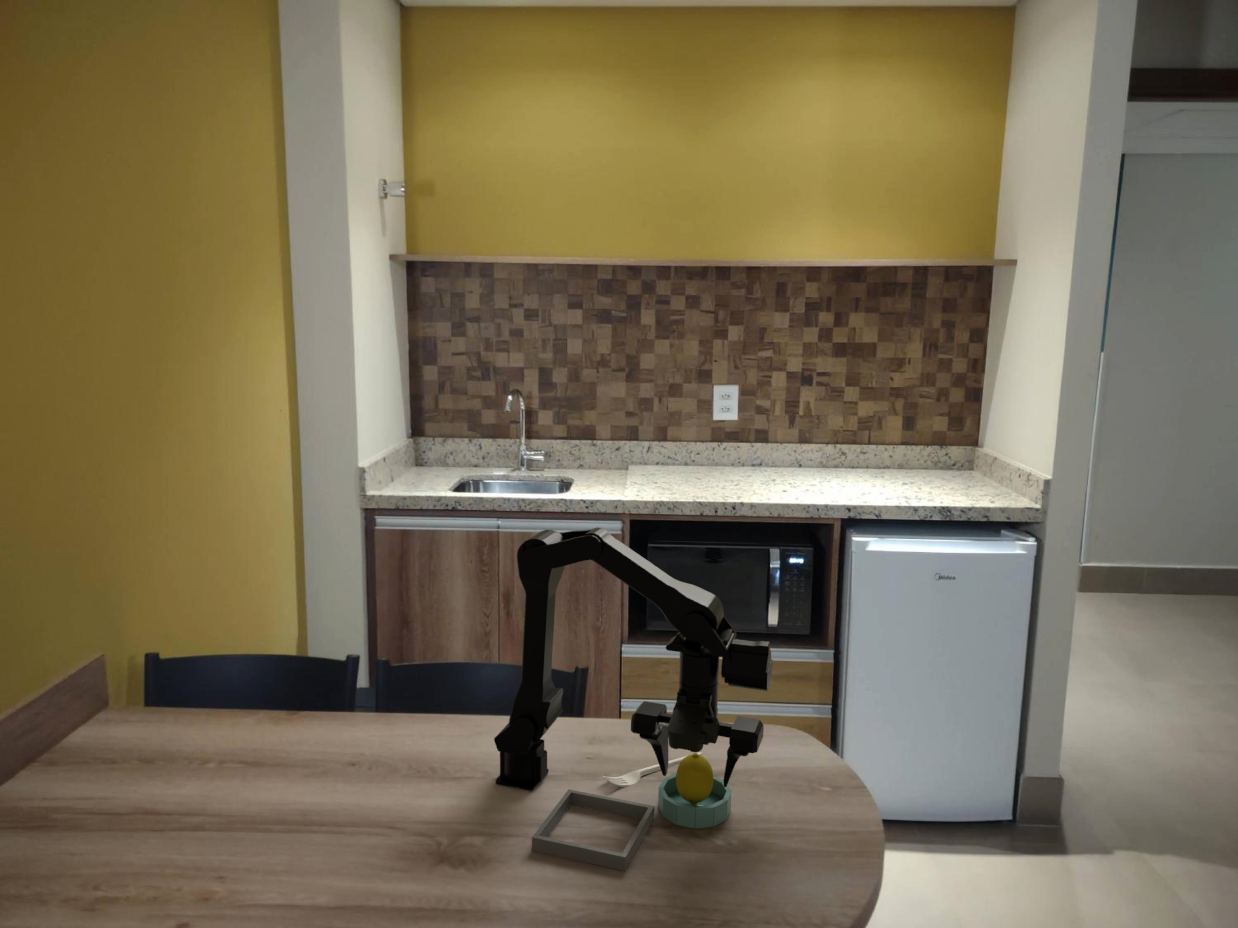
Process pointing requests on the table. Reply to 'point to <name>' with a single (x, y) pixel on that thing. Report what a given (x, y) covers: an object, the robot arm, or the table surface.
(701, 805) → the bowl
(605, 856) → the parts tray
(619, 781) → the fork
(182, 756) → the table surface
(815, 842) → the table surface
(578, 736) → the table surface
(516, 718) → the robot arm
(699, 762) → the lemon
